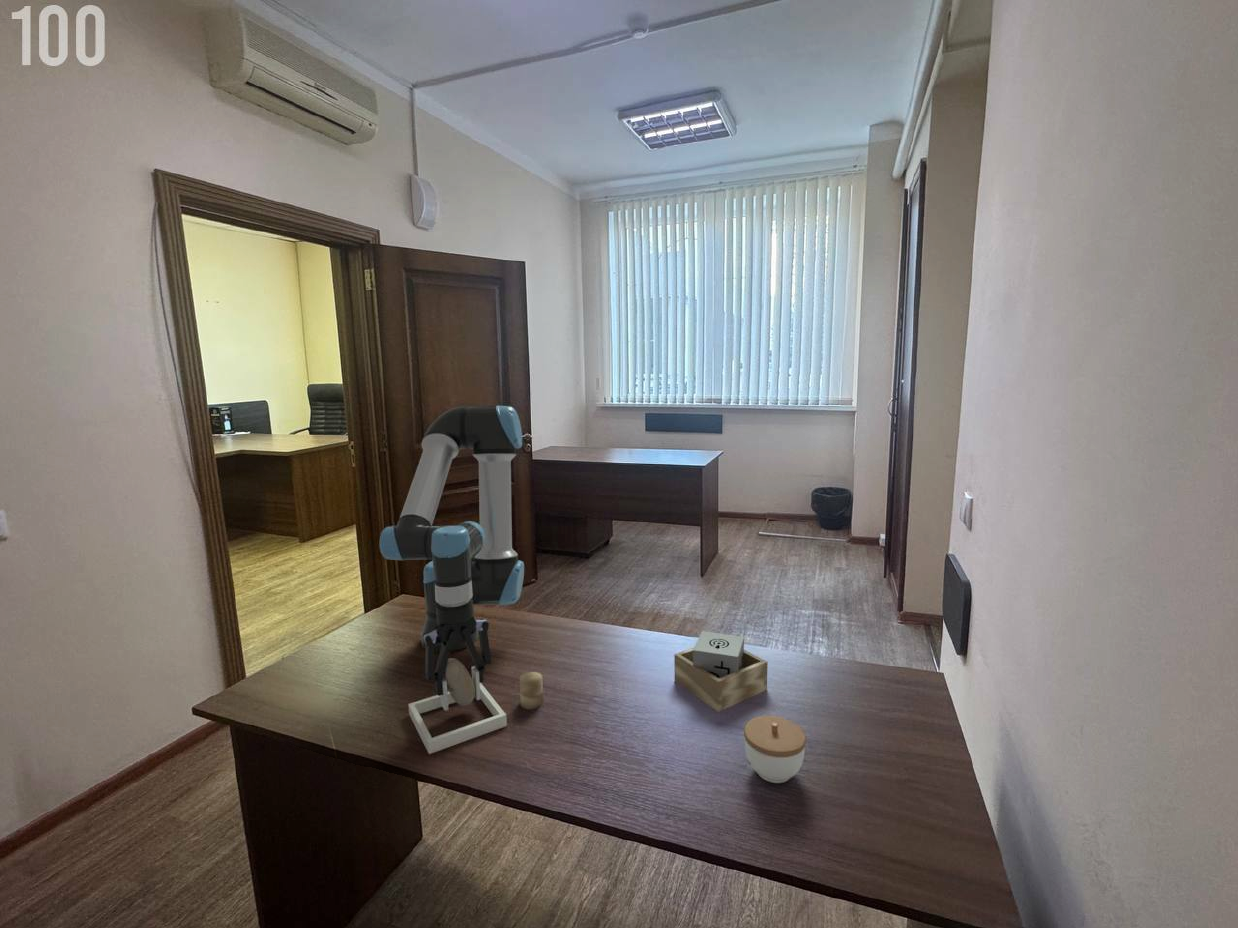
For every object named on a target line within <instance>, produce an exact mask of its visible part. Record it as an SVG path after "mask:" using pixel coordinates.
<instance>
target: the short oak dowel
mask: <svg viewBox="0 0 1238 928" xmlns="http://www.w3.org/2000/svg"><path fill="white" fill-rule="evenodd" d="M543 691H544V689H543V675H542V673H540V672H537V671H528V672H524V673H523V674H522V675H520V676H519V697H520V700H519V701H520V706H521V707H522V708H524V709H526V710H534V709H535V710H536V709H538V708H540V707H542V705H543V704H544V692H543Z"/></svg>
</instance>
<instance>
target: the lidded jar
mask: <svg viewBox="0 0 1238 928" xmlns="http://www.w3.org/2000/svg"><path fill="white" fill-rule="evenodd" d="M743 736H744V748H745V754H746V757H747V760H748V762H749V764H750V766H751V767H752V769H753V770H754V771H755V773H757V774H758V776H759V777H760V778H761V779H763V780H764V781H766V782H769V783H773V784H783V783H786V782H788V781H789V780H790V779H792V778H793V777H794V776H795V775H797V774H798V772H799V771H800V769H801V767H802V764H803V762H804V757H805V750H806V749H805V748H806V747H805V746H806V740H807V739H806V734H805V732H804V731H803V729H802V728H801V726H799V725H798V724H797V723H795V722H794V721H792V720H790V719H787V718H784V717H782V716H781V717H780V716H775V715H762V716H761V715H760V716H757V717H754V718H752V719H750V720H749V721H748V722H746V724H745V725H744V729H743Z"/></svg>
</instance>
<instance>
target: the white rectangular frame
mask: <svg viewBox="0 0 1238 928" xmlns="http://www.w3.org/2000/svg"><path fill="white" fill-rule="evenodd" d="M447 694H448V706H449V705H452V704H455V703H457V702H456V701H455V700H454V699H453V698H452V696H451V694H450V692H449V691H447ZM480 698H481V699H480V700H481V701H482V702H483V704H484V705H485V707H486V708H487V709H488V710H489V712H490V713H491V715H492V716H491V717H488V718H485V719H482V720H479V721H477V722H473V723H471V724H468V725H466V726H463V727H459V728H457V729H453V730H450V731H447V732H444V733H442V734H440V735H436V736H434V737H432V735H431V733H430V732H429V730H428V727H427V726H426V724H425V722H424V720H423V718H422V716H421V714H423V713H427V712H430V711H432V710H436V709H439V708H443V707H442V705H441V696H438V695H437V694H436V695H432V696H429V697H427V698H424V699H421V700H418V701H414V702H411V703H408V704H407V705H408V714H409V717H410V719H411V721H412V724H414V727H415V729H416V731H417V733H418V735H419V737H420V739H421V741H422V743H423V745H424V748H425V749H426V750H427V753H428V754H429V755H431V754H434V753H437V752H440V751H442V750H444V749H447V748H450V747H453V746H456V745H458V744H461V743H464V742H466V741H469V740H472V739H475V738H478V737H480V736H483V735H485V734H488V733H491V732H493V731H496V730H500V729H502V728H505V727H507V726H508V723H507V722H508V721H507V713H506V712H505V711H504V710H503V709H502V708H501V706H500V705H499V704H498V702H497V701H496V700H495V699H494V698H493V696H492V695H491V694H490V692H489V691H488V690H487V689H486V687H485V686H484V685H483V684H482V683H480Z"/></svg>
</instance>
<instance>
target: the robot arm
mask: <svg viewBox="0 0 1238 928" xmlns="http://www.w3.org/2000/svg"><path fill="white" fill-rule="evenodd" d="M522 446H523V432H522V425H521V421H520V418H519V415H518V412H517V410H516V409H515V408H514V407H513V406H509V405H478V406H477V405H476V406H456V407H453V408H451V409H449V410H446V411H445V412H444V413H442V414H440V415H439V416H438V417H437V418H436V419H435V420H434V421H433V422H432V423H431V424H430V426H429V427H428V428H427V430H426V432H425V433H424V436H423V438H422V441H421V448H422V449H421V450H422V453H421V456H420V458H419V462H418V465H417V467H416V470H415V474H414V476H413V479H412V482H411V484H410V486H409V487H410V488H409V491H408V493H407V497H406V500H405V502H404V505H403V508H402V511H401V513H400V516H399V519H398V521H397V524H396V525H390V526H385V528H384V529H383V530H382V531H381V533H380V536H379V544H378V546H379V550H380V553H381V555H382V557H383V558H384V559H386V560H394V561H412V560H413V561H414V560H417V561H418V560H431V561H429V562H428V563H427V564H425V566H424V568H423V581H422V583H423V590H424V603H425V604H424V605H425V614H426V615H425V619H424V624H423V628H422V631H421V635H420V640H421V641H420V642H421V647H422V648H424V653H425V654H424V655H425V656H424V676H425V679H426V680H427V681H428V683H432V682H434V689H435V693H436V695H438V696H441V705H442V707H441V708H442V709H443V710H444V712H446V711H449V709H450V708H449V705H448V694H447V692H448V688H447V681H446V680H445V678H444V673H445V669H446V665H447V661H448V659H450V653H451V652H454V651H460V650H462V649H465V648H467V651H468V654H469V655H470V657H471V659H472V660H471V661H472V662H473V664H474V666H471V668H470V669H471V678H472V680H473V683H474V686H475V697H474V699H476V701H480V700H481V698H480V683H481V684H482V683H483V682H484V680H485V679H484V671H485V669H486V666H489V665H491V664H492V656H491V650H490V644H489V643H490V641H489V636H488V631H489V630H488V629H489V626H490V625H489V624H490V623H489V622H488V620H486V619H485V618H481V619H476V618H475V616H474V615H475V613H474V606H475V605H476V606H478V605H479V606H481V605H482V606H483V605H484V606H485V605H486V606H487V605H489V606H491V605H492V606H493V605H494V606H496V605H498V606H503V605H513V604H515V603H516V602H517V601H519V600H520V596H521V594H522V589H523V584H524V578H525V563H524V561H522V560H519V559H518V558H519V557H518V556H519V555H518V553H517V551H516V550H514V549H513V535H512V534H513V532H512V531H513V529H512V527H513V525H512V521H513V520H512V467H511V466H512V464H511V461H512V460H513V459H514V458H515V457H516V456H517V450H518V449H521V448H522ZM461 450H472V456H473V457H474V458H475V459H476V460H477V462H478V495H479V497H478V498H479V499H478V502H479V504H478V506H479V523H478V522H476V521H471V520H468V521H464V522H461V523H459V524H458V525H457V524H456V525H433V523H434V521H435V520H434V519H435V518H436V517H435V516H436V514H437V510H438V508H439V503H440V502H441V501H440V500H441V497H442V494H443V491H444V487H445V485H446V482H447V481H446V480H447V477H448V474H449V471H450V468H451V464H452V462H453V459H455V458H456V457H457V456H458V454H459V451H461ZM472 560H474V561H472ZM477 640H479V646H480V652H481V653H480V654H481V658H480V655H479V652H478V651H477V648H476V646H475V644H474V643H475V642H477ZM435 653H439V654H438V658H437V661H436V665H435Z"/></svg>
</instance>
